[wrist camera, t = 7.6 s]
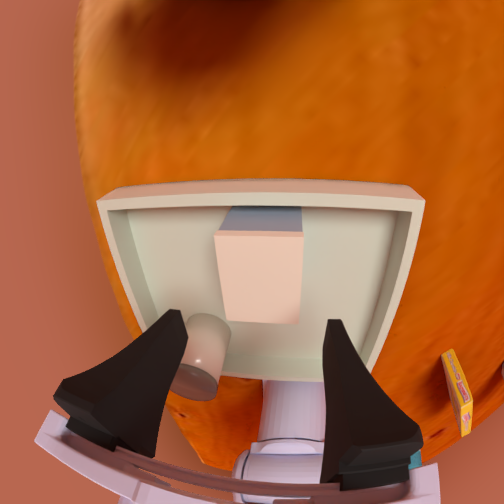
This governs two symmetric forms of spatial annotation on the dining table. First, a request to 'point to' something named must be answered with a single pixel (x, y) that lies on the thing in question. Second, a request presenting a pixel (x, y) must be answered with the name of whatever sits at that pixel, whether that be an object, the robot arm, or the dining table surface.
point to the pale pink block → (261, 263)
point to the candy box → (458, 391)
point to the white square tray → (313, 272)
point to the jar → (202, 357)
